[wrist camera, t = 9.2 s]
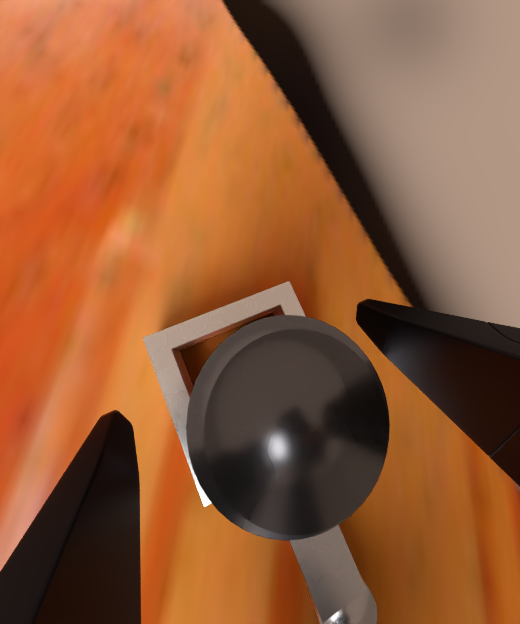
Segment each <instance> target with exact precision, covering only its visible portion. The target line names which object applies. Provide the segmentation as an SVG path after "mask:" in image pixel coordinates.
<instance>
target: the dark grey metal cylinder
mask: <svg viewBox="0 0 520 624" xmlns="http://www.w3.org/2000/svg"><path fill="white" fill-rule="evenodd" d="M186 436H187V445H188V452H189V457H190V460H191V464H192V467H193V471H194V473H195V475H196V477H197V480H198V482H199V484H200V486H201V488H202V489H203V491H204V493H205V494H206V496H207V497H208V499H209V500H210V501H211V503H212V504H213V505H214V506H215V507H216V509H217V510H218V511H219V512H220V513H222V514H223V515H224V516H225V517H226V518H227V519H228V520H229V521H231V522H232V523H234V524H235V525H237V526H239V527H240V528H242V529H243V530H246V531H248V532H250V533H252V534H255V535H257V536H261V537H265V538H269V539H275V540H300V539H305V538H309V537H314V536H317V535H319V534H322V533H324V532H327V531H329V530H330V529H332V528H334V527H336V526H337V525H339V524H341V523H342V522H343V521H345V520H346V519H347V518H348V517H350V516H351V515H352V514H353V513H354V512H355V511H356V510H357V509H358V508H359V507H360V506H361V505H362V504H363V502H364V501H365V500H366V498H367V497H368V496H369V494H370V493H371V491H372V490H373V488H374V486H375V484H376V482H377V481H378V478H379V476H380V473H381V471H382V468H383V465H384V461H385V457H386V454H387V448H388V441H389V412H388V406H387V400H386V396H385V393H384V389H383V386H382V383H381V381H380V379H379V376H378V374H377V372H376V370H375V368H374V367H373V365H372V363H371V361H370V360H369V359H368V357H367V356H366V355H365V353H364V352H363V351H362V350H361V349H360V347H359V346H358V345H357V344H356V343H355V342H354V341H353V340H351V339H350V338H349V337H348V336H347V335H346V334H344V333H343V332H341V331H340V330H338V329H337V328H335V327H333V326H331V325H329V324H327V323H325V322H322V321H320V320H317V319H314V318H309V317H305V316H297V315H280V316H273V317H268V318H263V319H261V320H258V321H255V322H252V323H250V324H248V325H246V326H244V327H242V328H240V329H239V330H237V331H236V332H234V333H233V334H231V335H230V336H229V337H228V338H227V339H225V340H224V341H223V342H222V343H221V344H220V345H219V346H218V347H217V348H216V349H215V350H214V352H213V353H212V354H211V355H210V357H209V358H208V360H207V361H206V363H205V364H204V365H203V367H202V369H201V371H200V373H199V375H198V377H197V379H196V382H195V384H194V387H193V390H192V393H191V396H190V401H189V405H188V411H187V421H186Z"/></svg>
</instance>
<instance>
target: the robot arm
mask: <svg viewBox="0 0 520 624" xmlns="http://www.w3.org/2000/svg"><path fill="white" fill-rule="evenodd" d="M356 321H357V323H358V325H359V326H360V327H361V328H362V330H363V331H364V332H365V333H366V334H367V336H368V337H369V338H370V339H371V340H372V341H373V343H374V344H375V345H376V346H377V347H378V349H379V350H380V351H381V352H382V353H383V354H384V355H385V356H386V357H387V358H388V359H389V360H390V361H391V362H392V363H393V364H394V365H395V366H396V367H397V368H398V369H399V370H400V371H401V372H402V373H403V374H404V375H405V376H406V377H407V378H409V379H410V380H411V381H412V382H413V383H414V384H415V385H416V386H417V387H418V388H419V389H420V390H421V391H422V392H423V393H424V394H425V395H426V396H427V397H428V398H429V399H430V400H431V401H432V402H433V403H434V404H435V405H436V406H437V407H438V408H440V409H441V410H442V411H443V412H444V413H445V414H446V415H447V416H448V417H449V418H450V419H451V420H452V421H453V422H454V423H455V424H456V425H457V426H458V427H459V428H460V429H461V430H462V431H463V432H464V433H465V434H466V435H467V436H468V437H469V438H470V439H472V440H473V441H474V442H475V443H476V444H477V445H478V446H479V447H480V448H481V449H482V450H483V451H484V452H485V453H486V454H487V455H488V456H489V457H490V458H491V459H492V460H493V461H494V462H495V463H496V464H497V465H498V466H499V467H500V468H501V469H502V470H503V471H504V472H505V473H506V474H507V475H508V476H510V477H511V478H512V479H513V480H514V481H515V482H516V483H517V484H518V485H519V486H520V328H516V327H510V326H505V325H500V324H495V323H490V322H488V323H486V322H484V321H479V320H474V319H469V318H464V317H459V316H454V315H449V314H444V313H438V312H433V311H428V310H423V309H418V308H413V307H408V306H403V305H398V304H393V303H387V302H382V301H377V300H372V299H366V300H363V301H361V302H359V303H358V305H357V313H356ZM0 624H141V574H140V485H139V471H138V462H137V455H136V447H135V439H134V431H133V427H132V424H131V423H130V422H129V421H128V420H127V419H126V418H125V417H124V416H123V415H122V414H121V413H120V412H119V411H117V410H114V411H111V412H109V413H107V414H105V415H103V416H101V417H100V418H99V420H98V421H97V423H96V425H95V426H94V428H93V429H92V431H91V432H90V434H89V435H88V437H87V438H86V440H85V442H84V443H83V445H82V446H81V448H80V449H79V451H78V452H77V454H76V455H75V457H74V459H73V460H72V462H71V463H70V465H69V466H68V468H67V469H66V471H65V472H64V474H63V476H62V477H61V479H60V480H59V482H58V483H57V485H56V486H55V488H54V489H53V491H52V493H51V494H50V496H49V497H48V499H47V500H46V502H45V503H44V505H43V507H42V508H41V510H40V511H39V513H38V514H37V516H36V517H35V519H34V520H33V522H32V524H31V525H30V527H29V528H28V530H27V531H26V533H25V534H24V536H23V537H22V539H21V541H20V542H19V544H18V545H17V547H16V548H15V550H14V551H13V553H12V554H11V556H10V558H9V559H8V561H7V562H6V564H5V565H4V567H3V568H2V570H1V572H0Z"/></svg>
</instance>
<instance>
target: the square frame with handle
mask: <svg viewBox="0 0 520 624" xmlns="http://www.w3.org/2000/svg"><path fill="white" fill-rule="evenodd" d="M272 312H273V314H274V316H280V315H297V316H305V314H304V311H303V309H302V307H301V305H300V303H299V301H298V299H297V297H296V294H295V292H294V290H293V288H292V286H291V284H290V282H289V281H288V282H285V283H283V284H280V285H277V286H275V287H272V288H270V289H267V290H264V291H262V292H259V293H257V294H254V295H252V296H249V297H246V298H244V299H241V300H239V301H236V302H234V303H231V304H228V305H226V306H223V307H221V308H218V309H215V310H213V311H210V312H208V313H205V314H203V315H200V316H197V317H195V318H192V319H190V320H187V321H185V322H182V323H179V324H177V325H174V326H172V327H169V328H166V329H164V330H161V331H159V332H156V333H154V334H151V335H148V336H146V337H143V340H144V343H145V345H146V348H147V351H148V354H149V356H150V359H151V362H152V365H153V368H154V370H155V373H156V376H157V379H158V381H159V384H160V387H161V390H162V392H163V395H164V398H165V401H166V403H167V406H168V409H169V412H170V414H171V417H172V420H173V423H174V425H175V428H176V431H177V434H178V437H179V439H180V442H181V445H182V448H183V450H184V453H185V456H186V459H187V461H188V464H189V467H190V470H191V472H192V475H193V478H194V481H195V483H196V486H197V489H198V492H199V494H200V497H201V500H202V503H203V506H204V507H205V506H207V505H209V504H211V501H210V500H209V499H208V497H207V496H206V494H205V493H204V491H203V489H202V488H201V486H200V484H199V482H198V480H197V477H196V475H195V473H194V471H193V467H192V464H191V460H190V457H189V452H188V445H187V436H186V421H187V411H188V405H189V401H190V396H191V393H192V390H193V387H194V386H193V384H192V381H191V378H190V376H189V373H188V371H187V368H186V365H185V363H184V360H183V358H182V355H181V352H180V350H182V349H185V348H187V347H189V346H192V345H194V344H197V343H199V342H202V341H204V340H206V339H209V338H211V337H214V336H216V335H219V334H221V333H223V332H226V331H228V330H231V329H233V328H235V327H238V326H240V325H243V324H245V323H248V322H250V321H252V320H255V319H257V318H260V317H262V316H265V315H267V314H269V313H272ZM305 317H306V316H305ZM290 543H291V545H292V548H293V550H294V553H295V555H296V558H297V560H298V563H299V565H300V568H301V570H302V573H303V575H304V578H305V580H306V583H307V586H308V592H309V596H310V599H311V601H312V604H313V607H314V610H315V613H316V616H317V618H318V621H319V624H377V616H378V615H377V606H376V602H375V599H374V597H373V595H372V593H371V591H370V590H369V588H368V586H367V585H366V583H365V581H364V580H363V578H362V577H361V575H360V573H359V571H358V569H357V566H356V564H355V562H354V559H353V557H352V555H351V552H350V550H349V548H348V546H347V543H346V541H345V539H344V536H343V534H342V532H341V529H340V527H339V525H337V526H336V527H334V528H332V529H330V530H329V531H327V532H324V533H322V534H319V535H317V536H314V537H309V538H305V539H300V540H290Z"/></svg>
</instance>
